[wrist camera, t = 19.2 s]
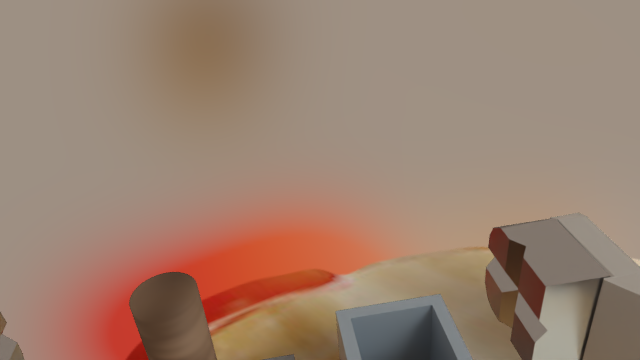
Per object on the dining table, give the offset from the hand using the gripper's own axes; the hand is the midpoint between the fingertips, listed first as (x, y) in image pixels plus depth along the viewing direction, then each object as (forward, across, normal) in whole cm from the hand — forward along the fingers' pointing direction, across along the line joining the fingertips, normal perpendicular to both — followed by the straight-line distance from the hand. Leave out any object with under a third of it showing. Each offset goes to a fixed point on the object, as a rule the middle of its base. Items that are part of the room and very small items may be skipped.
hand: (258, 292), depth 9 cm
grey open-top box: (+19, -8, +32) cm, 38 cm away
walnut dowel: (+18, +7, +31) cm, 37 cm away
